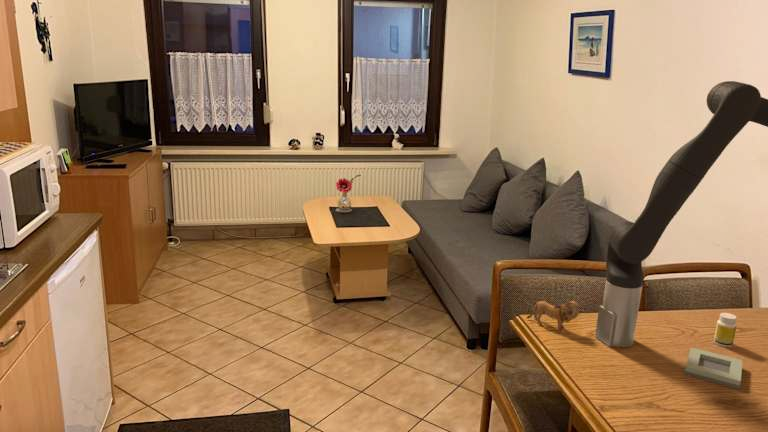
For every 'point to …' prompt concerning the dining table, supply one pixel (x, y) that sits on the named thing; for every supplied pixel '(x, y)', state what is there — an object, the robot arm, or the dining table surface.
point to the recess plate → (714, 368)
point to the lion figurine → (556, 312)
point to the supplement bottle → (725, 330)
